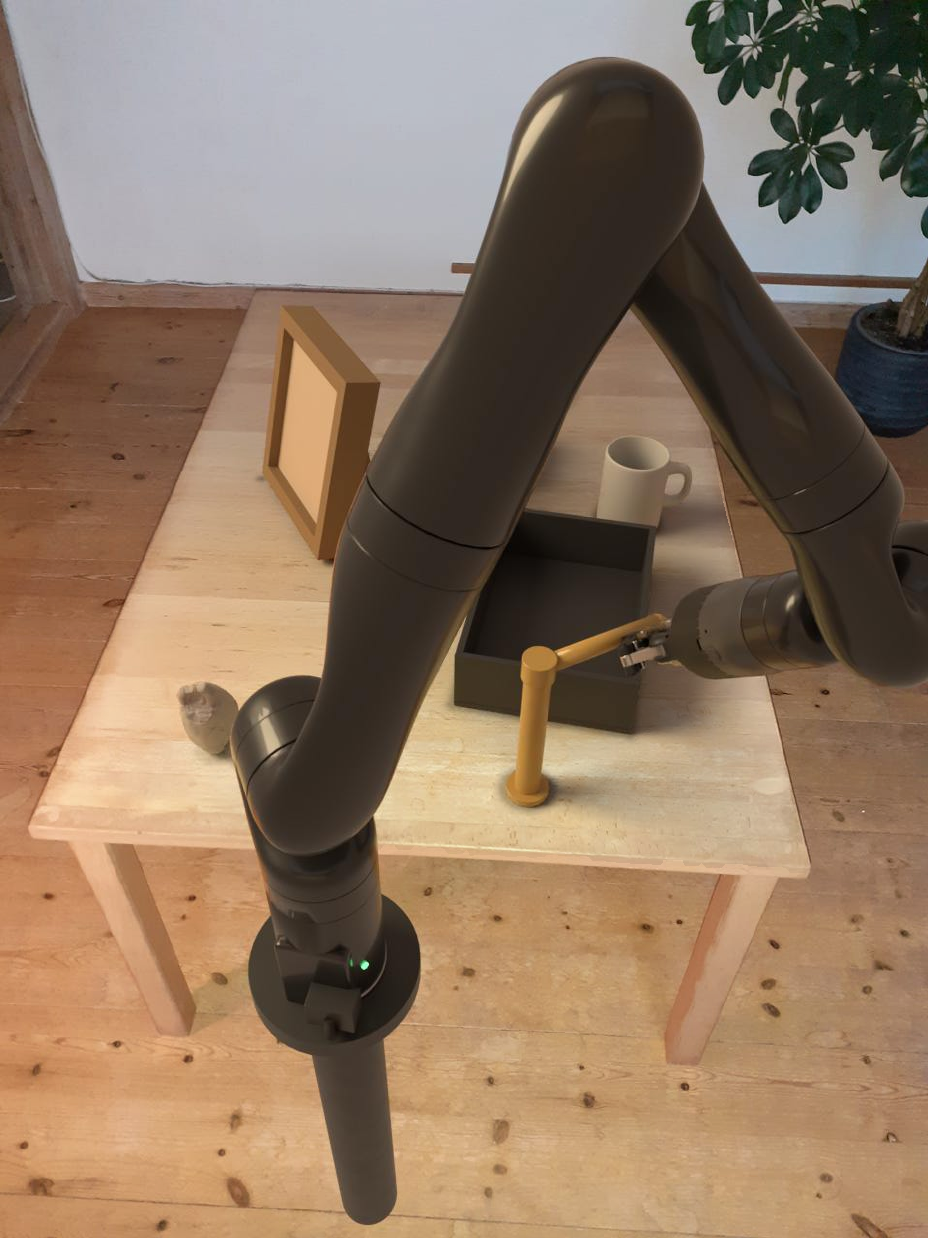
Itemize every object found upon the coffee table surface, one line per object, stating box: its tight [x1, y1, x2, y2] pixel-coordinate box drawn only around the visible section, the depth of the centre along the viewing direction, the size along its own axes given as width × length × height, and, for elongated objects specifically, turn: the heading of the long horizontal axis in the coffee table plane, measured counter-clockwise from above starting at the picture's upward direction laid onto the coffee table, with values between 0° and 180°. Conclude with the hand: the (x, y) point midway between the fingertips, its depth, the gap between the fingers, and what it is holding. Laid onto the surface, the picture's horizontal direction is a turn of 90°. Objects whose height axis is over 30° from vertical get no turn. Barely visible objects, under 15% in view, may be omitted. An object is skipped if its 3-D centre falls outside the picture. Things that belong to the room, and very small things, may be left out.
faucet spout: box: [521, 613, 668, 689], centre depth 92 cm, size 16×3×5 cm, turn 118°
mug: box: [596, 435, 693, 530], centre depth 131 cm, size 12×8×11 cm
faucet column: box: [505, 683, 551, 808], centre depth 95 cm, size 4×4×17 cm
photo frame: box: [261, 304, 382, 561], centre depth 127 cm, size 15×22×25 cm
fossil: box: [176, 681, 240, 755], centre depth 101 cm, size 6×4×10 cm, turn 111°
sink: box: [453, 507, 657, 735], centre depth 115 cm, size 28×20×8 cm
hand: (630, 645), depth 91 cm, fingers closed
